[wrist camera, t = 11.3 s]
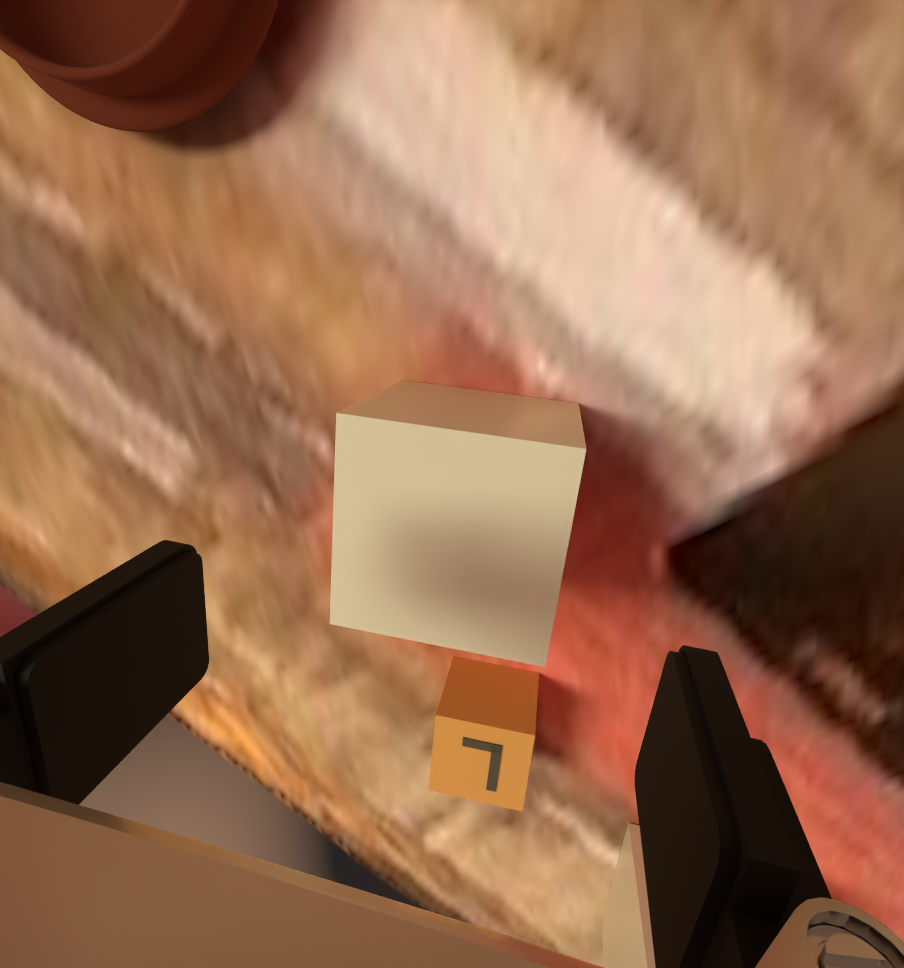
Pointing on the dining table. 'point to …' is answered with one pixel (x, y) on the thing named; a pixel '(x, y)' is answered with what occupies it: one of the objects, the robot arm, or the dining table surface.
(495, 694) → the letter cube
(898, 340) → the dining table surface
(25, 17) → the pottery
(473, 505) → the cover cube
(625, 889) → the cover empty
